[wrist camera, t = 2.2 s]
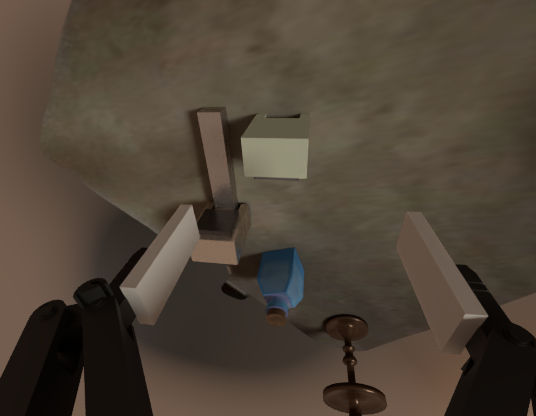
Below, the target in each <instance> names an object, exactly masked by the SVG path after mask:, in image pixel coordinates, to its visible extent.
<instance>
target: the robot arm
mask: <svg viewBox="0 0 536 416" xmlns="http://www.w3.org/2000/svg"><path fill="white" fill-rule="evenodd" d="M199 239H200V235H199V231H198V227H197V223H196V219H195V215H194V211H193V207H192V205H183V204H181V205H180V206H179V207H178V209H177V210H176V212H175V213H174V214H173V216H172V217H171V218H170V220H169V221H168V222H167V224H166V225H165V226H164V228H163V229H162V230H161V232H160V233H159V234H158V236H157V237H156V238H155V240H154V241H153V243H152V244H151V245H150V246H149V248H141V249H140V250H138V251H137V252H136V253H135V254H133V255H132V257H131V258H130V259H129V261H128V263H126V264H125V266H124V267H123V269H121V271H120V272H119V273H118V274H117V276H116V277H115V278H114V279H113V281H112V282H111V283H110V284H109V285H108V283H107V281H106V280H105V279H103V278H95V279H92V280H89V281H87V282H85V283H83V284H82V285H81V286H80V287H78V289H77V290H76V291H75V293H74V296H73V298H74V299H75V301H76V302H77V303H78V304H74V305H69V306H66V304H65V303H64V302H63V301H62V300H52V301H50V302H47V303H45V304H43V305H42V306H40V307H39V308H38V309H36V310H35V311H34V312H33V314H32V315H31V316H30V318H29V320H28V322H27V324H26V326H25V328H24V330H23V332H22V334H21V336H20V339H19V340H18V343H17V345H16V347H15V349H14V351H13V353H12V355H11V357H10V359H9V361H8V363H7V366H6V368H5V370H4V372H3V374H2V376H1V378H0V416H72V412H73V408H74V403H75V399H76V395H77V391H78V387H79V383H80V379H81V374H82V370H83V366H84V380H85V381H84V382H85V409H86V416H153V413H152V408H151V403H150V399H149V394H148V390H147V386H146V381H145V376H144V372H143V368H142V363H141V358H140V355H139V350H138V345H137V340H136V336H135V331H134V327H133V325H132V322H133V320H134V319H135V317H136V318H137V319H138V321H139V323H140V324H150V325H154V324H155V322H156V320H157V318H158V317H159V315H160V313H161V311H162V309H163V307H164V305H165V303H166V301H167V299H168V298H169V296H170V294H171V292H172V290H173V288H174V286H175V284H176V282H177V280H178V279H179V277H180V275H181V273H182V271H183V269H184V267H185V265H186V263H187V261H188V259H189V257H190V256H191V254H192V252H193V250H194V248H195V246H196V244H197V242H198V241H199ZM396 249H397V251H398V253H399V256H400V258H401V260H402V263H403V265H404V267H405V270H406V272H407V275H408V277H409V279H410V282H411V284H412V286H413V289H414V291H415V293H416V296H417V298H418V300H419V303H420V305H421V308H422V310H423V312H424V315H425V317H426V319H427V322H428V324H429V326H430V329H431V331H432V333H433V336H434V338H435V341H436V343H437V345H438V347H439V350H440V352H441V353H450V354H461V352H462V351H463V350H464V348H465V347H466V348H467V350H468V352H469V354H470V358H469V359H468V360H467V362H466V363H465V364H464V365H463V367H462V368H461V370H463V372H462V375H461V377H460V380H459V382H458V384H457V387H456V389H455V391H454V394H453V396H452V399H451V401H450V403H449V406H448V408H447V410H446V413H445V415H444V416H527V413H528V408H529V404H530V399H531V400H532V407H533V413H534V416H536V338H535V337H534V336H533V335H532V334H531V333H530V332H528V331H527V330H525V329H524V328H522V327H521V326H519V325H516V324H514V323H512V322H511V321H510V320H509V319H508V317H507V316H506V315H505V313H504V312H503V310H502V309H501V307H500V306H499V305H498V303H497V302H496V300H495V299H494V298H493V296H492V295H491V293H489V292H488V289H487V288H486V286H485V285H483V282H482V281H481V279H480V278H479V277H478V275H477V274H476V273H475V272H474V271H473V270H471V269H470V268H469V267H468V266H466V265H457V264H454V262H453V261H452V259H451V258H450V256H449V254H448V253H447V251H446V250H445V248H444V247H443V245H442V244H441V242H440V241H439V239H438V238H437V236H436V234H435V233H434V231H433V230H432V228H431V227H430V225H429V224H428V222H427V221H426V219H425V218H424V216H423V215H422V213H421V212H407V213H406V216H405V219H404V222H403V225H402V229H401V232H400V235H399V238H398V241H397V245H396Z"/></svg>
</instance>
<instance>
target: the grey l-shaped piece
mask: <svg viewBox="0 0 536 416" xmlns="http://www.w3.org/2000/svg"><path fill="white" fill-rule="evenodd" d="M197 116H198V121H199V126H200V132H201V137H202V142H203V147H204V152H205V158H206V163H207V168H208V173H209V178H210V184H211V189H212V194H213V199H214V202H208V203H207V205H206V206H205V208H204V210H203V211H202V213H201V215H200V216H199V218H198V219H197V221H196V223H197V227H198V231H199V235H200V239H199V241H198V242H197V244H196V246H195V248H194V250H193V252H192V254H191V257H192V260H193V261H200V262H211V263H222V264H233V265H238V263H239V260H240V256H241V253H242V250H243V247H244V244H245V241H246V238H247V235H248V232H249V229H250V226H251V224H250V214H249V204H241V206H240V208H239V207H238V199H237V191H236V183H235V175H234V168H233V160H232V152H231V144H230V136H229V128H228V121H227V113H226V107H204V108H202V109H201V110H200V111H198V112H197Z"/></svg>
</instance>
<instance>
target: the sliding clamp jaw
mask: <svg viewBox="0 0 536 416" xmlns="http://www.w3.org/2000/svg"><path fill="white" fill-rule="evenodd" d="M309 123H310V114H300V118H266V114H256V116H255V117H254V119H253V120H252V122H251V123H250V125H249V126H248V128H247V129H246V131H245V132H244V134H243V135H242V137H241V145H242V155H243V164H244V174H245V176H248V177H254V179H274V180H299V178H301V179H306V176H307V159H308V141H309Z"/></svg>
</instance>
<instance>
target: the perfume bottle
mask: <svg viewBox="0 0 536 416" xmlns="http://www.w3.org/2000/svg"><path fill="white" fill-rule="evenodd" d="M257 281H258V283H259V286H260V289H261V291H262V294H263V296H264V298H265V300H266V301H267V303H268V304H267V308H266V313H267V316H266V321H267V322H268V323H269V324H271V325H273V326H282V325H285V323H286V317H287V316H288V308H294V307H295V306H296V305H297V304H298V303H299V302H300V301H301V300H302V299H303V284H304V269H303V267H302V264H301V262H300V259H299V257H298V254H297V252H296V249H295V247H294V248H288V249H281V250H275V251H269V252H263V254H262V258H261V263H260V267H259V271H258V276H257Z"/></svg>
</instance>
